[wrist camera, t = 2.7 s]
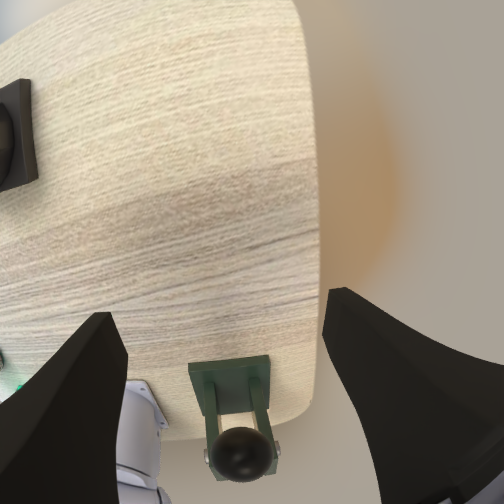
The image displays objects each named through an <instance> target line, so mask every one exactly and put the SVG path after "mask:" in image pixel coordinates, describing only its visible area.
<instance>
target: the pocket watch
mask: <svg viewBox="0 0 504 504" xmlns="http://www.w3.org/2000/svg"><path fill="white" fill-rule="evenodd" d="M2 368H3V361H2V359H1V356H0V371H1V370H2Z"/></svg>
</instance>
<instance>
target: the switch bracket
mask: <svg viewBox="0 0 504 504" xmlns="http://www.w3.org/2000/svg"><path fill="white" fill-rule="evenodd" d="M188 372H189V376H190V379H191V382H192V385H193V388H194V391H195V394H196V398H197V401H198V403H199V406H200V409H201V412H202V415H203V416H205V424H206V437H207V449H204V457H205V462H206V464H209V467H210V469H211V471H212V473H213V474H214V476H215V478H216V480H217V481H224V480H228V479H226V478H224V477H223V476H221V475H220V474H219V473H218V472H217V471H216V470H215V468H214V467H213V465H212V462H211V459H210V450H211V446H212V444H213V442H214V440H215V439H216V438H217V437H218V436H219V435H220V434H221V433H222V432H223V431H222V423H221V415H225V414H235V413H243V412H252V418H253V423H254V428H255V430H257V431H259V432H261V433H262V434H263V435H264V436H266V437H267V439H268V440H269V441H270V443H271V445H272V448H273V453H274V458H273V462H272V465H271V467H270V469H269V470H268V471H267V472H266V473H265V474H264V475H265V476H266V475H272V474H275V473H276V469H277V463H278V456H279V455H280V454H281V453H280V446H279V442H278V441H274V439H273V435H272V431H271V426H270V422H269V418H268V413H267V409H269V395H270V359H269V356H268V355H263V356H255V357H248V358H239V359H231V360H221V361H211V362H199V363H188Z"/></svg>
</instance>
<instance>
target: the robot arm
mask: <svg viewBox="0 0 504 504" xmlns="http://www.w3.org/2000/svg"><path fill="white" fill-rule="evenodd" d="M322 336H323V339H324V342H325V345H326V348H327V351H328V354H329V356H330V359H331V361H332V363H333V365H334V367H335V369H336V371H337V373H338V375H339V377H340V379H341V381H342V383H343V385H344V387H345V389H346V391H347V393H348V395H349V397H350V399H351V401H352V403H353V405H354V407H355V409H356V411H357V414H358V416H359V419H360V421H361V424H362V427H363V430H364V433H365V436H366V439H367V442H368V446H369V449H370V452H371V456H372V459H373V463H374V467H375V471H376V476H377V480H378V485H379V490H380V496H381V502H382V504H504V365H500V364H496V363H492V362H488V361H485V360H482V359H478V358H475V357H473V356H470V355H467V354H464V353H462V352H459V351H456V350H454V349H452V348H449V347H447V346H445V345H443V344H441V343H439V342H437V341H434V340H432V339H430V338H428V337H427V336H424V335H423V334H421V333H419V332H417V331H416V330H414V329H412V328H410V327H409V326H407V325H405V324H404V323H402V322H400V321H399V320H397V319H395V318H394V317H392V316H390V315H389V314H388V313H386V312H384V311H383V310H381V309H380V308H378V307H377V306H375V305H374V304H372V303H371V302H369V301H368V300H366V299H364V298H363V297H361V296H360V295H358V294H356V293H355V292H353V291H352V290H350V289H348V288H346V287H342V288H336V289H330V290H329V294H328V301H327V308H326V314H325V320H324V326H323V332H322ZM127 367H128V353H127V351H126V349H125V347H124V344H123V342H122V340H121V337H120V335H119V333H118V330H117V328H116V325H115V323H114V320H113V318H112V315H111V312H95V313H94V314H92V315H91V316H90V317H89V318H88V319H87V320H86V321H85V322H84V323H83V324H82V325H81V326H80V327H79V328H78V329H77V330H76V332H75V333H74V334H73V335H72V336H71V337H70V338H69V339H68V340H67V341H66V342H65V343H64V344H63V346H62V347H61V348H60V349H59V350H58V351H57V352H56V353H55V354H54V355H53V356H52V357H51V358H50V359H49V360H48V361H47V362H46V363H45V364H44V365H43V367H42V368H41V369H40V370H39V371H38V372H37V373H36V374H35V375H34V376H33V377H32V378H31V379H30V380H28V381H27V382H26V383H25V384H24V385H23V386H22V387H21V388H20V389H18V390H17V391H16V392H15V393H14V394H13V395H12V396H10V397H9V398H8V399H6V400H5V401H4V402H2V403H1V404H0V504H172V503H171V500H170V498H169V496H168V494H167V493H166V492H165V490H164V489H163V488H161V487H157V479H156V478H157V476H158V474H159V471H160V440H161V429H167V428H169V424H168V423H167V421H166V419H165V417H164V415H163V414H162V412H161V410H160V408H159V406H158V404H157V402H156V401H155V399H154V397H153V395H152V393H151V391H150V389H149V387H148V385H147V383H146V382H145V381H127Z"/></svg>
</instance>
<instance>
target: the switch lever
mask: <svg viewBox="0 0 504 504" xmlns="http://www.w3.org/2000/svg"><path fill="white" fill-rule="evenodd" d="M273 458H274V453H273V448H272V445H271V443H270V441H269V440H268V439H267V437H266V436H264V435H263V434H262V433H261V432H259V431H257V430H255V429H252V428H248V427H235V428H231V429H228V430H226V431H224V432H222V433H221V434H220V435H219V436H218V437H217V438H216V439H215V440H214V442H213V444H212V446H211V450H210V459H211V462H212V465H213V467H214V468H215V470H216V471H217V472H218V473H219V474H220V475H221V476H223V477H224V478H226V479H228V480H231V481H235V482H250V481H254V480H256V479H259V478H260V477H262V476H263V475H264V474H265V473H266V472H267V471H268V470H269V469H270V467H271V465H272V462H273Z"/></svg>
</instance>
